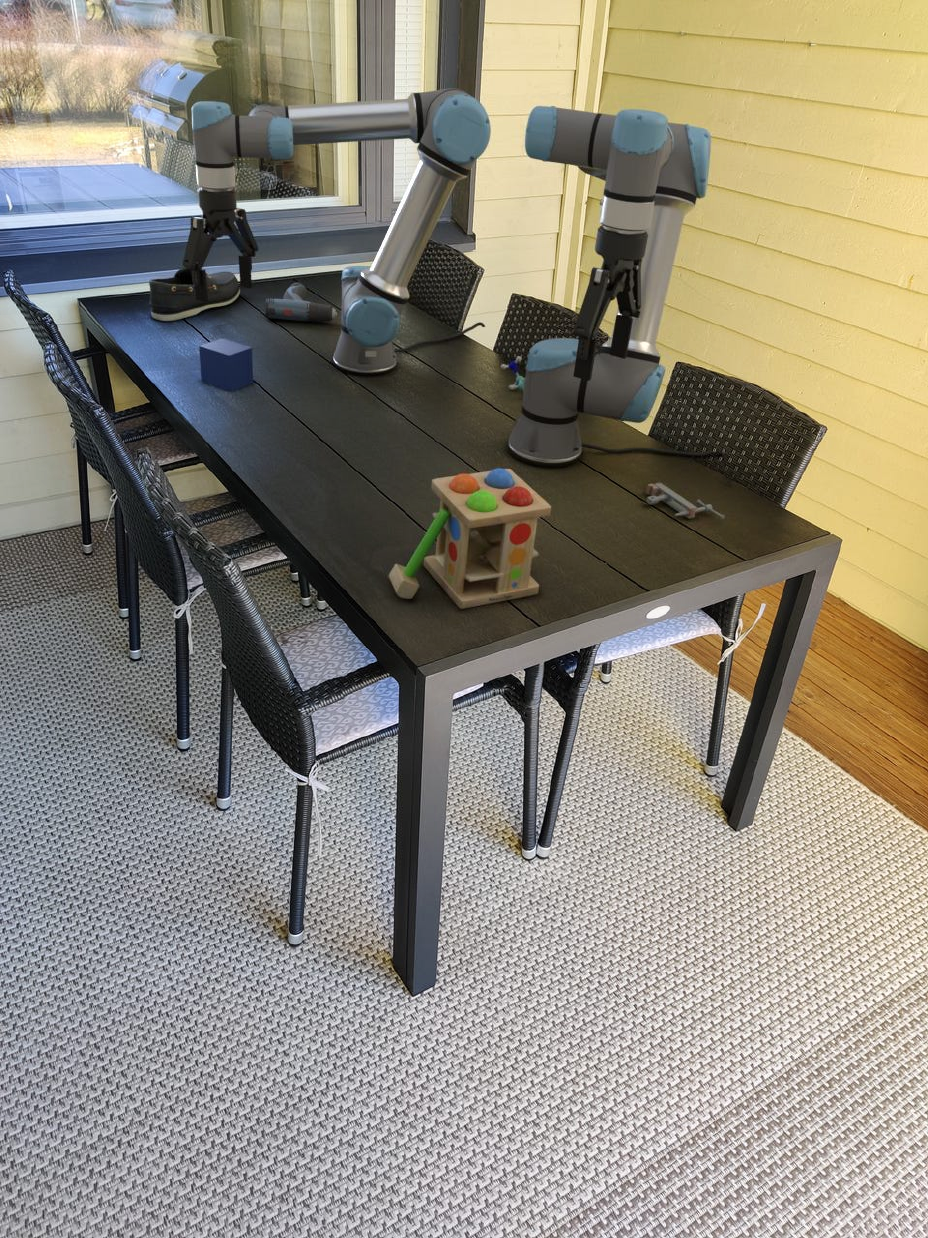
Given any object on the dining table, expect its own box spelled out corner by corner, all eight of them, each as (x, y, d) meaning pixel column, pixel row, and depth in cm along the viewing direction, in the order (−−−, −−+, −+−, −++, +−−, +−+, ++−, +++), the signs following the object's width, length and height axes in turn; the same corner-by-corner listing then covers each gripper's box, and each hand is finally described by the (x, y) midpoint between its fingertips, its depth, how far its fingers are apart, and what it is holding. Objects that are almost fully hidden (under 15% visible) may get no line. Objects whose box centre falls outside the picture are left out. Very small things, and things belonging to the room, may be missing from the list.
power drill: (344, 304, 276) (335, 327, 259) (277, 298, 275) (264, 321, 258) (344, 285, 273) (335, 306, 256) (277, 279, 272) (264, 300, 255)
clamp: (635, 486, 189) (675, 478, 194) (633, 496, 191) (673, 488, 195) (686, 521, 179) (727, 512, 184) (684, 532, 180) (724, 522, 185)
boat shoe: (257, 300, 274) (255, 261, 268) (168, 323, 250) (164, 281, 244) (224, 291, 279) (221, 254, 274) (133, 313, 256) (128, 272, 250)
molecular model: (546, 391, 223) (532, 348, 222) (508, 405, 227) (494, 363, 225) (558, 390, 234) (545, 349, 232) (521, 403, 237) (508, 363, 236)
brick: (224, 372, 226) (222, 338, 222) (253, 382, 223) (252, 347, 218) (201, 381, 221) (199, 345, 217) (231, 391, 218) (229, 355, 213)
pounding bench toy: (410, 620, 149) (416, 516, 139) (375, 573, 160) (379, 473, 149) (540, 594, 159) (555, 495, 148) (499, 551, 169) (510, 455, 159)
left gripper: (244, 176, 209) (250, 278, 221) (157, 193, 192) (169, 302, 203) (271, 182, 206) (276, 284, 218) (185, 199, 188) (195, 310, 200)
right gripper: (633, 211, 156) (611, 342, 167) (563, 236, 137) (543, 381, 149) (678, 220, 153) (652, 353, 164) (611, 247, 134) (588, 394, 146)
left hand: (224, 293), depth 211 cm, fingers open, 13 cm apart
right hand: (600, 367), depth 157 cm, fingers open, 13 cm apart
